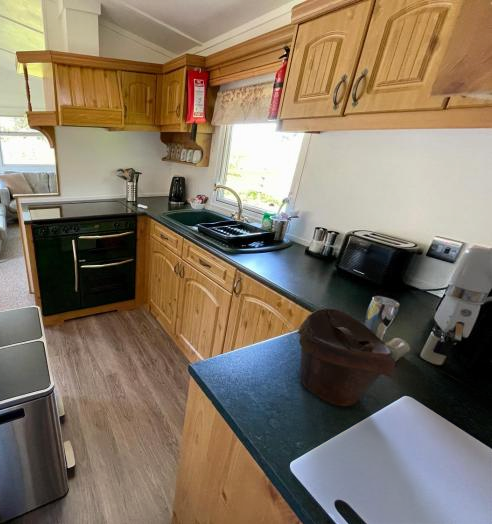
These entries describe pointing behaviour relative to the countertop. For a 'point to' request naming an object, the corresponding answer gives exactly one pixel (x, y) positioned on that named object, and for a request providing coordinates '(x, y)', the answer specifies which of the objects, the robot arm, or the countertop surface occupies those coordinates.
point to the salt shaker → (398, 348)
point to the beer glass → (381, 315)
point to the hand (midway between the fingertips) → (437, 348)
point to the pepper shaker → (429, 346)
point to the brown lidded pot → (341, 356)
